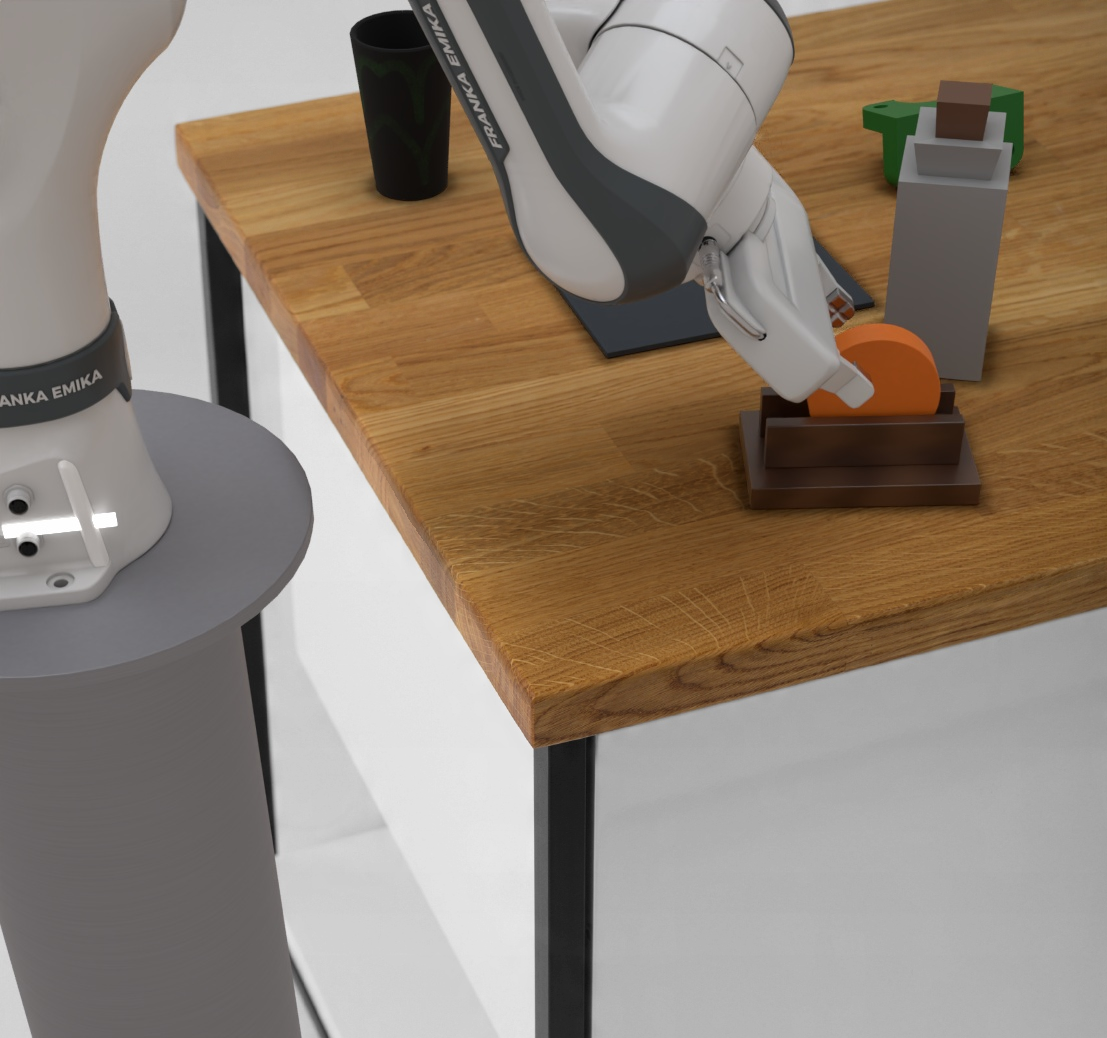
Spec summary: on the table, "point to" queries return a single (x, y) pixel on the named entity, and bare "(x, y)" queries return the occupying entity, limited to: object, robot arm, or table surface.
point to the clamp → (903, 116)
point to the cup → (403, 105)
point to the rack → (856, 457)
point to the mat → (674, 315)
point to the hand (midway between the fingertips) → (855, 354)
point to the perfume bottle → (950, 227)
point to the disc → (885, 374)
